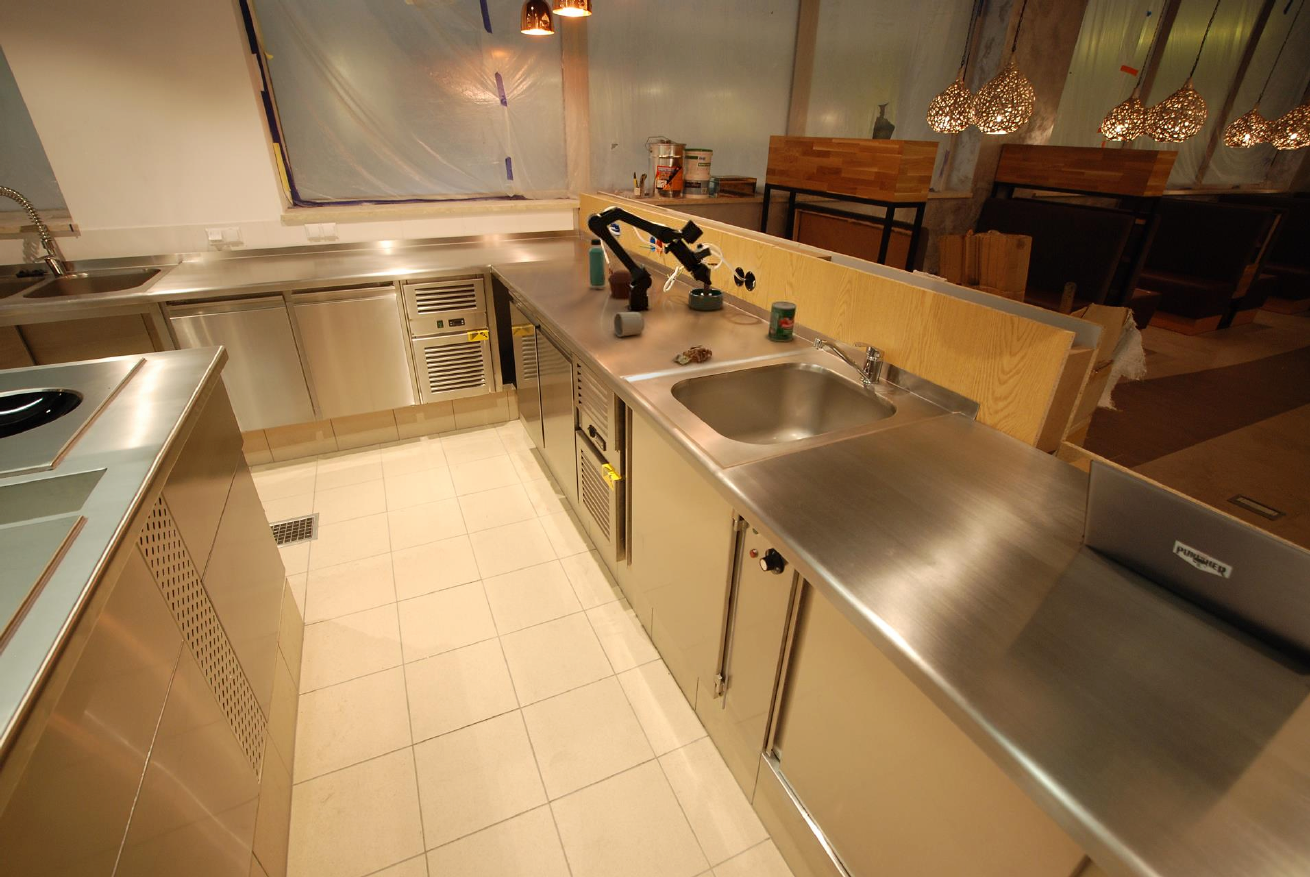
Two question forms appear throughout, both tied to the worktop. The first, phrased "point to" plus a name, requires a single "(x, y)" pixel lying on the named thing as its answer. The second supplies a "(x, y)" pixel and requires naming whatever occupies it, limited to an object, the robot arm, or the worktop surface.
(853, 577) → the worktop surface
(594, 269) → the beverage bottle
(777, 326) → the canned tomato
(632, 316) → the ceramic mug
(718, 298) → the bowl
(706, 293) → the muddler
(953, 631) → the worktop surface
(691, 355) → the pastry
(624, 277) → the muffin
